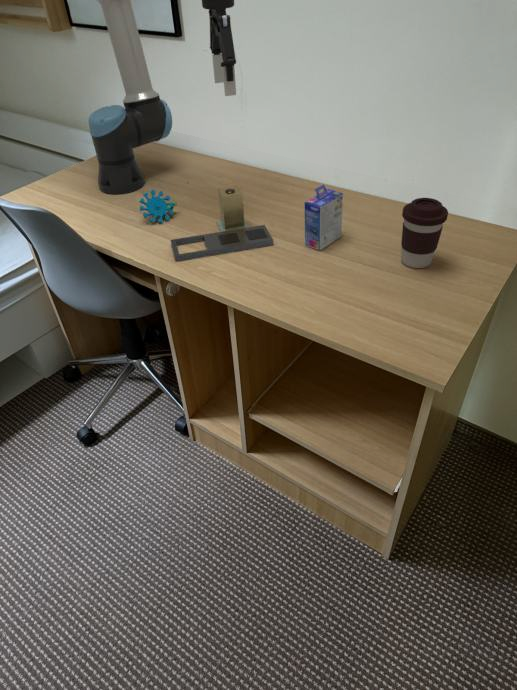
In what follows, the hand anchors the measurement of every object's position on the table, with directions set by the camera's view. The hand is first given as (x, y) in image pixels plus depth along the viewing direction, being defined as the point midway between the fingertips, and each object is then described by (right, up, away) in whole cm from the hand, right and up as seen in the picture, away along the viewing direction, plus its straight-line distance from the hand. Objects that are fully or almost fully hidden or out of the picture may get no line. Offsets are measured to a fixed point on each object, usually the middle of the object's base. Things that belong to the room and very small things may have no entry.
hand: (225, 88), depth 127 cm
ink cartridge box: (+26, -38, +4) cm, 46 cm away
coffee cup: (+47, -45, -5) cm, 66 cm away
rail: (-1, -39, +5) cm, 39 cm away
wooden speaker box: (+1, -32, +12) cm, 34 cm away
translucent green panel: (+1, -33, +12) cm, 35 cm away
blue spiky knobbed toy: (-20, -29, +19) cm, 40 cm away
